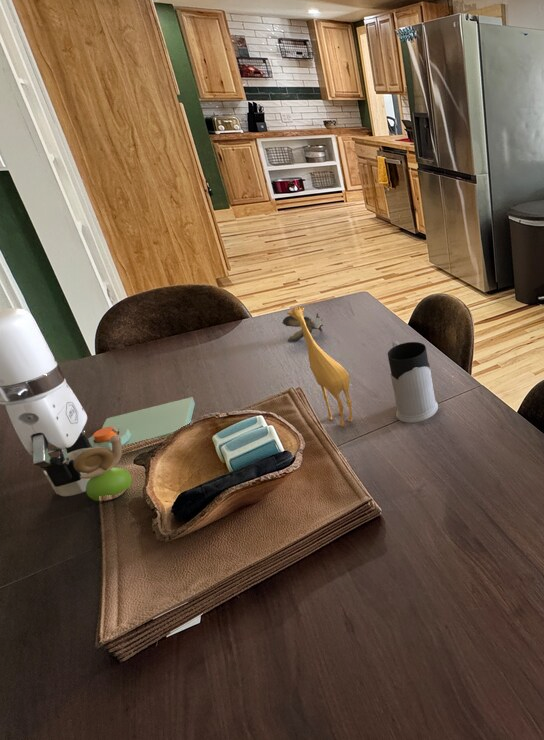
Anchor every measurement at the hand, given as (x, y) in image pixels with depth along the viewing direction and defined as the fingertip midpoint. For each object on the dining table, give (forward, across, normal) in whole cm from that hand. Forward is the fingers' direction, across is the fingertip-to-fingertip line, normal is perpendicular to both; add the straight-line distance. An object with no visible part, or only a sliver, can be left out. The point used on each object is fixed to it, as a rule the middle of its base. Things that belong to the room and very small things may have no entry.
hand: (75, 468), depth 83 cm
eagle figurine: (+3, +42, -37) cm, 56 cm away
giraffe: (+3, -3, -40) cm, 40 cm away
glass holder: (+3, -8, -55) cm, 56 cm away
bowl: (+3, 0, 0) cm, 3 cm away
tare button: (0, +8, -3) cm, 8 cm away
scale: (+3, +12, -7) cm, 14 cm away
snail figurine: (+3, -7, -6) cm, 10 cm away
